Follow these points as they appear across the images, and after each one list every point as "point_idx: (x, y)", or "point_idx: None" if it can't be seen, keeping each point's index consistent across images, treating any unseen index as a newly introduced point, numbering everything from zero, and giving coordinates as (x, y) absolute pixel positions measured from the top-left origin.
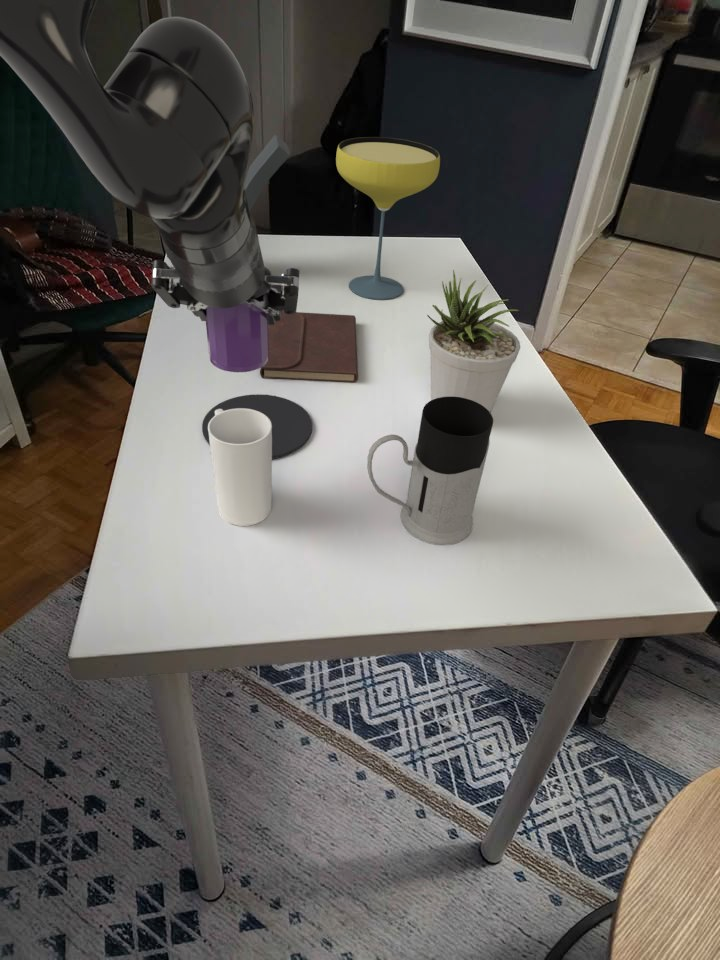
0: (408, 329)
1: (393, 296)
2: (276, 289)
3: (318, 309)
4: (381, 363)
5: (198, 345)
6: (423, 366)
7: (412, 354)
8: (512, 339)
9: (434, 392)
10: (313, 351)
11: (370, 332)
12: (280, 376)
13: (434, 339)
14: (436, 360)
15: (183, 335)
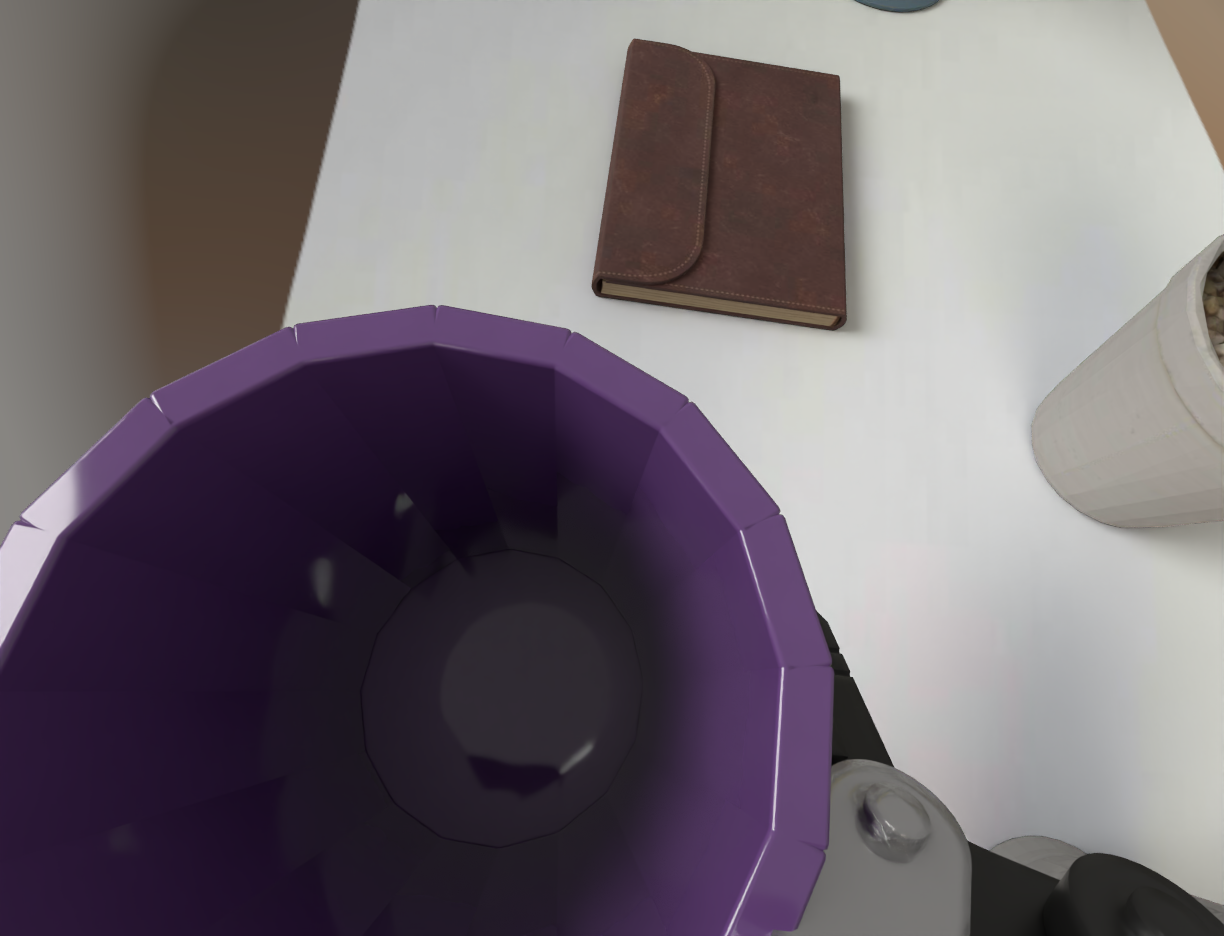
0: (962, 128)
1: (927, 3)
2: (965, 929)
3: (744, 36)
4: (897, 256)
5: (441, 153)
6: (1002, 275)
7: (974, 226)
8: None
9: (1078, 448)
10: (734, 214)
11: (870, 132)
12: (643, 298)
13: (1212, 346)
14: (1174, 410)
15: (405, 111)
